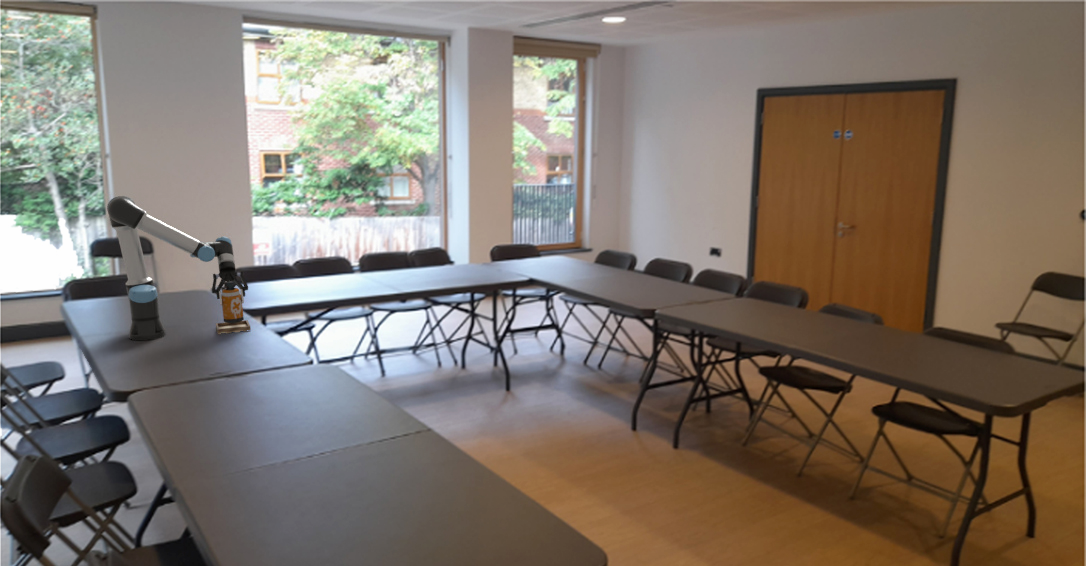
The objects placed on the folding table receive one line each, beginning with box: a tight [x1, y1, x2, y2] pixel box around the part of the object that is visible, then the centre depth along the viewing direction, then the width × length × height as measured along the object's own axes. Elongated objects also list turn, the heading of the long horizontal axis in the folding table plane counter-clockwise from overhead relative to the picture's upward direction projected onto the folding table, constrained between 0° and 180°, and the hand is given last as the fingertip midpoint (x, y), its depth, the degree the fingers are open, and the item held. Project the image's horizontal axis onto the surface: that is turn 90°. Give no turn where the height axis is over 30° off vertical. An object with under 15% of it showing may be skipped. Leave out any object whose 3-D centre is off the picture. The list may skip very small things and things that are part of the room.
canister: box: [220, 280, 245, 323], centre depth 367 cm, size 9×11×20 cm
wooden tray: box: [215, 319, 251, 335], centre depth 369 cm, size 15×14×2 cm
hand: (232, 302), depth 364 cm, fingers closed on canister, 9 cm apart
